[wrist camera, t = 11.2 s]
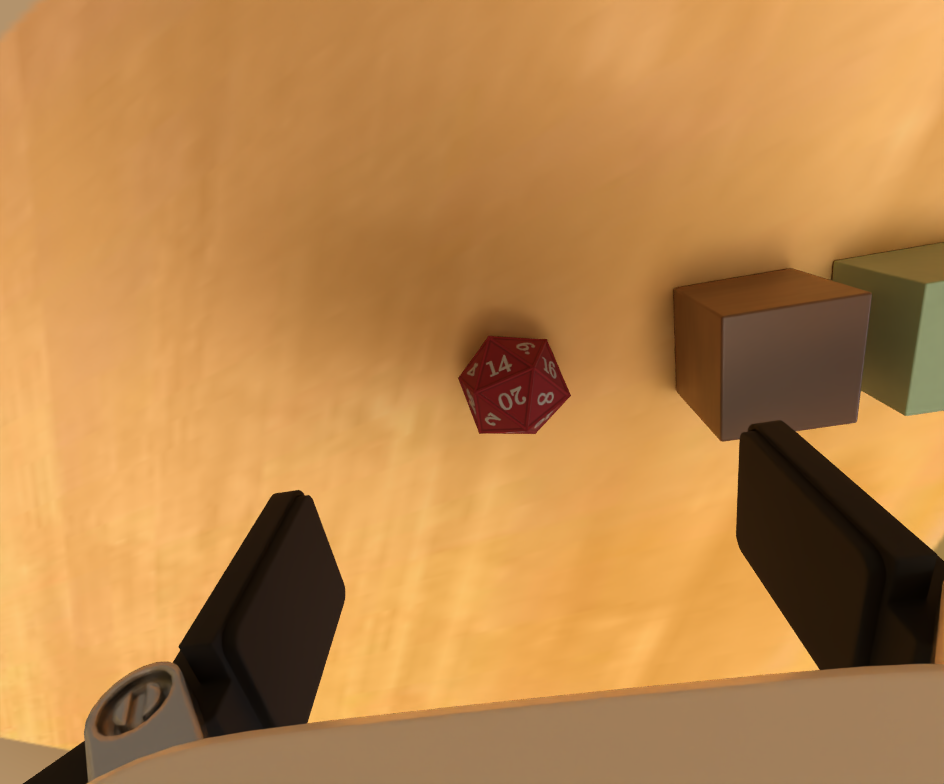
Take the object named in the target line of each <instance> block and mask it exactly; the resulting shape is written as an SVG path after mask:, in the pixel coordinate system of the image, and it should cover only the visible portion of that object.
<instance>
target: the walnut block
mask: <svg viewBox="0 0 944 784" xmlns="http://www.w3.org/2000/svg"><path fill="white" fill-rule="evenodd" d="M871 300H872V293H871V292H868V291H865V290H861V289H858V288H855V287H851V286H848V285H845V284H842V283H838V282H835V281H832V280H828V279H825V278H822V277H818V276H815V275H812V274H809V273H805V272H802V271H799V270H795V269H792V268H790V269H784V270H778V271H772V272H766V273H760V274H754V275H748V276H743V277H737V278H731V279H725V280H719V281H713V282H707V283H701V284H695V285H689V286H683V287H677V288H675V289H674V319H675V353H676V388H677V393H678V394H679V395H680V396H681V397H682V398H683V399H684V400H685V402H686V403H687V404H688V405H689V406H690V407H691V408H692V409H693V411H694V412H695V413H696V414H697V415H698V416H699V417H700V418H701V420H702V421H703V422H704V423H705V424H706V425H707V426H708V427H709V429H710V430H711V431H712V432H713V433H714V434H715V435H716V436H717V438H718V439H719V440H720V441H730V440H737V439H740V435H741V433H743V432H747V431H748V428H749V426H750V425H751V424H755V423H762V422H769V421H776V420H782V421H783V422H785V423H786V424H787V425H788V426H790V427H791V428H792V429H793V430H794V431H801V430H808V429H815V428H822V427H829V426H836V425H843V424H850V423H855V422H857V417H858V409H859V400H860V392H861V384H862V375H863V367H864V359H865V350H866V342H867V333H868V325H869V317H870V308H871Z"/></svg>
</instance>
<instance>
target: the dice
mask: <svg viewBox="0 0 944 784" xmlns="http://www.w3.org/2000/svg"><path fill="white" fill-rule="evenodd" d="M458 379H459V382H460V384H461V387H462V389H463V392H464V395H465V397H466V400H467V402H468V405H469V408H470V410H471V413H472V415H473V418H474V421H475V423H476V426H477V428H478V432H479V434H482V433H502V434H536V433H537V431H538V430H539V429H540V428H541V427H542V426H543V425H544V424H545V423H546V422H547V421H548V420H549V418H550V417H551V416H552V415H553V414H554V413H555V412H556V411H557V410H558V409H559V408H560V407H561V406H562V404H563V403H564V402H565V401H566V400H567V399H568V398H569V397H570V396H571V395H570V393H569V390H568V388H567V386H566V383H565V381H564V379H563V376H562V374H561V372H560V369H559V367H558V365H557V362H556V360H555V358H554V355H553V353H552V351H551V348H550V346H549V343H548V341H547V339H530V338H513V337H497V336H488V337H487V339H486V340H485V342H484V343H483V344H482V346H481V347H480V349H479V350H478V351H477V353H476V354H475V356H474V357H473V358H472V360H471V361H470V363H469V364H468V365H467V367H466V368H465V370H464V371H463V372H462V374H461V375H460V376H459V377H458Z"/></svg>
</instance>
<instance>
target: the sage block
mask: <svg viewBox="0 0 944 784" xmlns="http://www.w3.org/2000/svg"><path fill="white" fill-rule="evenodd" d="M832 281H835V282H838V283H842V284H845V285H848V286H851V287H855V288H858V289H861V290H865V291H868V292H871V293H872V300H871V308H870V317H869V325H868V333H867V342H866V350H865V359H864V367H863V375H862V384H861V391H863V392H865V393H866V394H868V395H870V396H872V397H873V398H875V399H877V400H879V401H880V402H882V403H884V404H886V405H887V406H889V407H891V408H892V409H894V410H896V411H898V412H899V413H901V414H903V415H905V416H909V415H916V414H923V413H930V412H937V411H944V242H942V243H937V244H931V245H925V246H919V247H913V248H907V249H901V250H895V251H889V252H883V253H877V254H871V255H866V256H860V257H854V258H848V259H842V260H836V261H834V266H833V277H832Z"/></svg>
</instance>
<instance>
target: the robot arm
mask: <svg viewBox="0 0 944 784" xmlns="http://www.w3.org/2000/svg"><path fill="white" fill-rule="evenodd" d="M736 537H737V542H738V545H739V548H740V550H741V552H742V553H743V555H744V556H745V558H746V559H747V561H748V562H749V564H750V565H751V567H752V568H753V570H754V571H755V573H756V574H757V576H758V577H759V579H760V580H761V582H762V583H763V585H764V586H765V588H766V589H767V591H768V592H769V594H770V595H771V597H772V598H773V600H774V601H775V603H776V604H777V606H778V608H779V609H780V611H781V612H782V614H783V615H784V617H785V618H786V620H787V621H788V623H789V624H790V626H791V627H792V629H793V630H794V632H795V633H796V635H797V636H798V638H799V639H800V641H801V642H802V644H803V645H804V647H805V648H806V650H807V651H808V653H809V654H810V656H811V657H812V659H813V660H814V662H815V663H816V665H817V666H818V668H819V669H820V670H815V671H803V672H791V673H779V674H767V675H757V676H747V677H737V678H727V679H717V680H707V681H697V682H687V683H677V684H667V685H657V686H647V687H637V688H626V689H617V690H607V691H598V692H588V693H579V694H569V695H559V696H550V697H540V698H531V699H521V700H512V701H503V702H493V703H484V704H474V705H465V706H456V707H447V708H438V709H429V710H420V711H411V712H402V713H393V714H384V715H375V716H366V717H357V718H348V719H339V720H330V721H322V722H314V723H307V722H308V719H309V716H310V713H311V709H312V706H313V703H314V700H315V696H316V693H317V690H318V686H319V683H320V680H321V677H322V673H323V670H324V667H325V664H326V660H327V657H328V654H329V650H330V647H331V644H332V641H333V637H334V634H335V631H336V628H337V624H338V621H339V618H340V615H341V611H342V608H343V605H344V601H345V586H344V582H343V580H342V577H341V574H340V572H339V569H338V566H337V564H336V561H335V558H334V556H333V553H332V550H331V547H330V545H329V542H328V539H327V537H326V534H325V531H324V529H323V526H322V523H321V521H320V518H319V515H318V512H317V510H316V507H315V504H314V502H313V499H312V498H311V497H310V496H309V495H306V496H305V495H304V493H303V492H302V491H300V490H296V491H289V492H282V493H276V494H273V495H272V496H271V498H270V499H269V501H268V503H267V504H266V506H265V507H264V509H263V511H262V512H261V514H260V516H259V517H258V519H257V520H256V522H255V524H254V525H253V527H252V528H251V530H250V532H249V533H248V535H247V537H246V538H245V540H244V541H243V543H242V545H241V546H240V548H239V550H238V551H237V553H236V554H235V556H234V558H233V559H232V561H231V562H230V564H229V566H228V567H227V569H226V571H225V572H224V574H223V575H222V577H221V579H220V580H219V582H218V584H217V585H216V587H215V588H214V590H213V592H212V593H211V595H210V596H209V598H208V600H207V601H206V603H205V605H204V606H203V608H202V609H201V611H200V613H199V614H198V616H197V618H196V619H195V621H194V622H193V624H192V626H191V627H190V629H189V630H188V632H187V634H186V635H185V637H184V639H183V640H182V642H181V643H180V645H179V648H180V652H179V653H178V655H177V656H176V658H175V660H174V661H173V663H171V662H156V663H152V664H149V665H146V666H143V667H141V668H139V669H137V670H135V671H133V672H131V673H129V674H128V675H126V676H125V677H124V678H122V679H121V680H119V681H118V682H116V683H115V684H114V685H113V686H112V687H111V688H110V689H109V690H108V691H107V692H106V693H104V694H103V695H102V697H101V698H100V699H99V700H98V702H97V703H96V704H95V706H94V707H93V708H92V710H91V712H90V714H89V716H88V718H87V720H86V724H85V730H84V738H85V741H84V742H82V743H81V744H79V745H78V746H76V747H75V748H74V749H72V750H71V751H69V752H68V753H66V754H65V755H64V756H62V757H61V758H59V759H58V760H56V761H55V762H54V763H52V764H51V765H49V766H48V767H46V768H45V769H43V770H42V771H41V772H39V773H38V774H36V775H35V776H33V777H32V778H30V779H29V780H28V781H26V782H25V783H23V784H944V561H943V560H942V559H941V558H940V557H939V556H937V554H936V553H935V552H934V551H933V550H932V549H930V548H929V547H928V546H927V545H926V544H925V543H923V542H922V541H921V540H920V539H919V538H918V537H917V536H915V535H914V534H913V533H912V532H911V531H910V530H908V529H907V528H906V527H905V526H904V525H903V524H902V523H900V522H899V521H898V520H897V519H896V518H895V517H893V516H892V515H891V514H890V513H889V512H888V511H887V510H885V509H884V508H883V507H882V506H881V505H880V504H878V503H877V502H876V501H875V500H874V499H873V498H872V497H870V496H869V495H868V494H867V493H866V492H865V491H863V490H862V489H861V488H860V487H859V486H858V485H857V484H855V483H854V482H853V481H852V480H851V479H850V478H848V477H847V476H846V475H845V474H844V473H843V472H842V471H840V470H839V469H838V468H837V467H836V466H835V465H833V464H832V463H831V462H830V461H829V460H828V459H827V458H825V457H824V456H823V455H822V454H821V453H820V452H818V451H817V450H816V449H815V448H814V447H813V446H812V445H810V444H809V443H808V442H807V441H806V440H805V439H803V438H802V437H801V436H800V435H799V434H798V433H797V432H795V431H794V430H793V429H792V428H791V427H790V426H788V425H787V424H786V423H785V422H783V421H782V420H776V421H769V422H762V423H755V424H751V425H750V426H749V428H748V431H747V432H743V433H741V435H740V444H739V471H738V498H737V524H736Z"/></svg>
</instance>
